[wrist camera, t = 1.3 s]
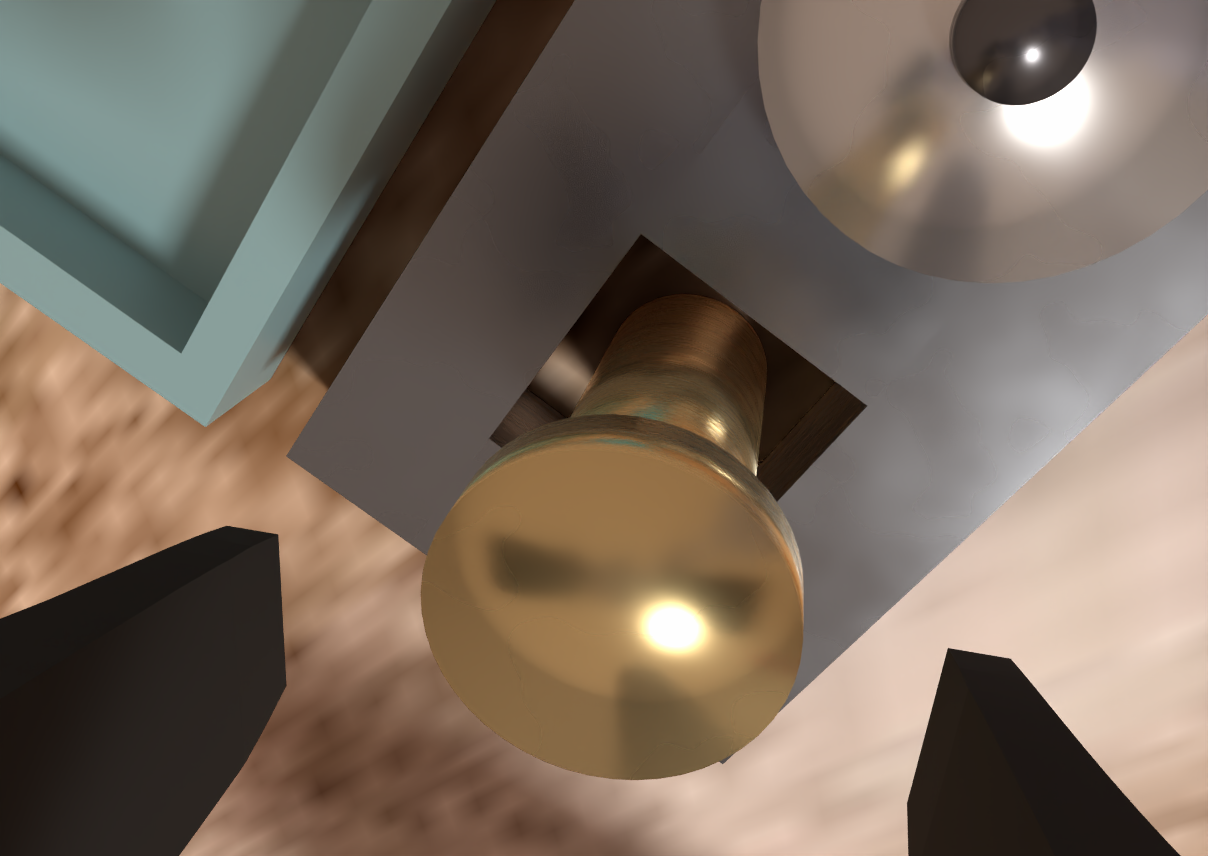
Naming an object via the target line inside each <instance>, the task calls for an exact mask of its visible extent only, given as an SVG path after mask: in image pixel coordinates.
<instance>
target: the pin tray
mask: <svg viewBox="0 0 1208 856" xmlns="http://www.w3.org/2000/svg"><path fill="white" fill-rule="evenodd" d="M495 2H496V0H0V283H1V284H3V285H4V286H5V287H7V288H8V289H10V290H11V291H13V292H14V293H15V294H17V295H18V296H20V297H21V298H23V299H24V300H25V301H27V302H28V303H30V304H31V305H33V306H34V307H35V308H37V309H38V310H40V311H41V312H42V313H44V314H45V315H47V316H48V317H50V318H51V319H52V320H54V321H55V322H57V323H58V324H60V325H61V326H62V327H64V328H65V329H67V330H68V331H70V332H71V333H72V334H74V335H75V336H77V337H78V338H80V339H81V340H82V341H84V342H85V343H87V344H88V345H89V346H91V347H92V348H94V349H95V350H97V351H98V352H99V353H101V354H102V355H104V356H105V357H107V358H108V359H109V360H111V361H112V362H114V363H115V364H117V365H118V366H119V367H121V368H122V369H124V370H125V371H126V372H128V373H129V374H131V375H132V376H134V377H135V378H136V379H138V380H139V381H141V382H142V383H144V384H145V385H146V386H148V387H149V388H151V389H152V390H154V391H155V392H156V393H158V394H159V395H161V396H162V397H164V398H165V399H166V400H168V401H169V402H171V403H172V404H173V405H175V406H176V407H178V408H179V409H181V410H182V411H183V412H185V413H186V414H188V415H189V416H191V417H192V418H193V419H195V420H196V421H198V422H199V423H201V424H202V425H203V426H205V427H206V426H208V425H209V424H210V423H212V422H213V421H214V420H216V419H217V418H218V417H220V416H221V415H223V414H224V413H225V412H227V411H228V410H229V409H231V408H232V407H233V406H235V405H236V404H237V403H239V402H240V401H241V400H243V399H244V398H246V397H247V396H248V395H250V394H251V393H252V392H254V391H255V390H256V389H258V388H259V387H260V386H262V385H263V384H265V383H266V382H267V381H269V380H270V379H271V377H272V375H273V374H274V372H275V370H276V369H277V367H278V365H279V364H280V362H281V360H282V359H283V357H284V355H285V354H286V352H287V350H288V349H289V347H290V345H291V344H292V342H293V340H294V339H295V337H296V335H297V334H298V332H299V330H300V329H301V327H302V325H303V323H304V322H305V320H306V318H307V317H308V315H309V313H310V312H311V310H312V308H313V307H314V305H315V303H316V302H317V300H318V298H319V297H320V295H321V293H322V292H323V290H324V288H325V287H326V285H327V283H328V282H329V280H330V278H331V277H332V275H333V273H334V272H335V270H336V268H337V267H338V265H339V263H340V262H341V260H342V258H343V256H344V255H345V253H346V251H347V250H348V248H349V246H350V245H351V243H352V241H353V240H354V238H355V236H356V235H357V233H358V231H359V230H360V228H361V226H362V225H363V223H364V221H365V220H366V218H367V216H368V215H369V213H370V211H371V210H372V208H373V206H374V205H375V203H376V201H377V200H378V198H379V196H380V195H381V193H382V191H383V190H384V188H385V186H386V184H387V183H388V181H389V179H390V178H391V176H392V174H393V173H394V171H395V169H396V168H397V166H398V164H399V163H400V161H401V159H402V158H403V156H404V154H405V153H406V151H407V149H408V148H409V146H410V144H411V143H412V141H413V139H414V138H415V136H416V134H417V133H418V131H419V129H420V128H421V126H422V124H423V123H424V121H425V119H426V118H427V116H428V114H429V112H430V111H431V109H432V107H433V106H434V104H435V102H436V101H437V99H438V97H439V96H440V94H441V92H442V91H443V89H444V87H445V86H446V84H447V82H448V81H449V79H450V77H451V76H452V74H453V72H454V71H455V69H456V67H457V66H458V64H459V62H460V61H461V59H462V57H463V56H464V54H465V52H466V51H467V49H468V47H469V45H470V44H471V42H472V40H473V39H474V37H475V35H476V34H477V32H478V30H479V29H480V27H481V25H482V24H483V22H484V20H485V19H486V17H487V15H488V14H489V12H490V10H491V9H492V7H493V5H494V4H495Z"/></svg>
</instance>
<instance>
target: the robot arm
mask: <svg viewBox="0 0 1208 856" xmlns="http://www.w3.org/2000/svg"><path fill="white" fill-rule="evenodd" d="M285 687H286V670H285V652H284V633H283V615H282V596H281V578H280V559H279V541H278V534H272V533H266V532H260V531H254V530H248V529H243V528H237V527H231V526H225V527H222V528H219V529H216V530H213V531H210V532H207V533H204V534H202V535H199V536H196V537H194V538H191V539H189V540H186V541H184V542H181V543H179V544H177V545H174V546H172V547H169V548H167V549H165V550H162V551H160V552H158V553H155V554H153V555H151V556H149V557H146V558H144V559H142V560H139V561H137V562H135V563H132V564H130V565H128V566H126V567H123V568H121V569H119V570H116V571H114V572H112V573H109V574H107V575H105V576H102V577H100V578H98V579H96V580H93V581H91V582H89V583H86V584H84V585H82V586H79V587H77V588H75V589H72V590H70V591H68V592H65V593H63V594H61V595H58V596H56V597H54V598H51V599H49V600H47V601H44V602H42V603H39V604H37V605H34V606H32V607H29V608H27V609H24V610H21V611H19V612H16V613H14V614H11V615H9V616H6V617H4V618H1V619H0V856H179V855H180V854H181V852H182V851H183V849H184V848H185V847H186V845H187V844H188V843H189V841H190V840H191V838H192V837H193V836H194V834H195V833H196V832H197V830H198V829H199V828H200V826H201V825H202V823H203V822H204V821H205V819H206V818H207V816H208V815H209V814H210V812H211V811H212V809H213V808H214V807H215V805H216V804H217V802H218V801H219V800H220V798H221V797H222V795H223V794H224V793H225V791H226V790H227V788H228V787H229V786H230V784H231V783H232V781H233V780H234V778H235V777H236V776H237V774H238V773H239V771H240V770H241V768H242V767H243V765H244V764H245V762H246V761H247V759H248V757H249V755H250V753H251V752H252V750H253V748H254V746H255V744H256V743H257V741H258V739H259V737H260V735H261V734H262V732H263V730H264V728H265V726H266V724H267V722H268V720H269V718H270V716H271V715H272V713H273V711H274V709H275V707H276V705H277V703H278V701H279V699H280V697H281V695H282V693H283V691H284V689H285ZM907 816H908V854H909V856H1180V855H1179V854H1178V853H1177V852H1176V851H1175V850H1174V848H1173V847H1172V846H1171V845H1170V844H1169V843H1168V842H1167V841H1166V840H1165V839H1164V838H1163V837H1162V836H1161V835H1160V834H1159V832H1158V831H1157V830H1156V829H1155V828H1154V827H1153V826H1152V825H1151V824H1150V823H1149V822H1148V820H1147V819H1146V818H1145V817H1144V816H1143V815H1142V814H1141V813H1140V812H1139V811H1138V809H1137V808H1136V807H1135V806H1134V805H1133V804H1132V803H1131V802H1130V800H1129V799H1128V798H1127V797H1126V796H1125V795H1124V794H1123V793H1122V791H1121V790H1120V789H1119V788H1118V787H1117V786H1116V784H1115V783H1114V782H1113V781H1112V780H1111V779H1110V777H1109V776H1108V775H1107V774H1106V773H1105V772H1104V771H1103V769H1102V768H1101V767H1100V766H1099V765H1098V763H1097V762H1096V761H1095V760H1094V759H1093V758H1092V756H1091V755H1090V754H1089V753H1088V752H1087V750H1086V749H1085V748H1084V747H1083V746H1082V744H1081V743H1080V742H1079V741H1078V740H1077V738H1076V737H1075V736H1074V735H1073V734H1072V732H1071V731H1070V730H1069V729H1068V727H1067V726H1066V725H1065V724H1064V723H1063V721H1062V720H1061V719H1060V718H1059V717H1058V715H1057V714H1056V713H1055V712H1054V710H1053V709H1052V708H1051V707H1050V706H1049V704H1048V703H1047V702H1046V701H1045V699H1044V698H1043V697H1042V696H1041V694H1040V693H1039V692H1038V691H1037V690H1036V688H1035V687H1034V686H1033V685H1032V683H1031V682H1030V681H1029V680H1028V679H1027V677H1026V676H1025V675H1024V674H1023V673H1022V671H1021V670H1020V669H1019V668H1018V667H1017V666H1016V664H1015V663H1014V662H1013V661H1012V660H1011V659H1009V658H1003V657H997V656H991V655H985V654H979V653H974V652H968V651H962V650H956V649H950V648H948V650H947V654H946V658H945V661H944V665H943V669H942V673H941V677H940V680H939V684H938V688H937V692H936V696H935V699H934V703H933V707H932V711H931V715H930V718H929V722H928V726H927V730H926V734H925V738H924V741H923V745H922V749H921V753H920V757H919V760H918V764H917V768H916V772H915V776H914V779H913V783H912V787H911V791H910V795H909V798H908V802H907Z"/></svg>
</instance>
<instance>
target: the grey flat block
mask: <svg viewBox="0 0 1208 856" xmlns="http://www.w3.org/2000/svg"><path fill="white" fill-rule="evenodd" d="M640 234H642V235H643V236H645V237H646V238H647V239H648V240H650V241H651V242H652V243H654V244H655V245H656V246H658V247H659V248H660V249H662V250H663V251H664V252H666V253H667V254H668V255H670V256H671V257H672V258H673V259H675V260H676V261H677V262H679V263H680V264H681V265H683V266H684V267H685V268H687V269H688V270H689V271H691V272H692V273H693V274H695V275H696V276H697V277H699V278H700V279H701V280H702V281H704V282H705V283H706V284H708V285H709V286H710V287H712V288H713V289H714V290H716V291H717V292H718V293H720V294H721V295H722V296H724V297H725V298H726V299H727V300H729V301H730V302H731V303H733V304H734V305H735V306H737V307H738V308H739V309H741V310H742V311H743V312H745V313H746V314H747V315H749V316H750V317H751V318H752V319H754V320H755V321H756V322H758V323H759V324H760V325H762V326H763V327H764V328H766V329H767V330H768V331H770V332H771V333H772V334H774V335H775V336H776V337H778V338H779V339H780V340H781V341H783V342H784V343H785V344H787V345H788V346H789V347H791V348H792V349H793V350H795V351H796V352H797V353H799V354H800V355H801V356H803V357H804V358H805V359H806V360H808V361H809V362H810V363H812V364H813V365H814V366H816V367H817V368H818V369H820V370H821V371H822V372H824V373H825V374H826V375H828V376H829V377H830V378H832V379H833V380H834V381H835V383H834V384H833V385H832V386H831V388H830V389H829V390H828V391H827V392H826V393H825V394H824V395H823V396H822V397H821V399H820V400H819V401H818V402H817V403H816V404H815V405H814V406H813V407H812V408H811V409H810V411H809V412H808V413H807V414H806V415H805V416H804V417H803V418H802V419H801V420H800V422H799V423H798V424H797V425H796V426H795V427H794V428H793V429H792V430H791V431H790V433H789V434H788V435H787V436H786V437H785V438H784V439H783V440H782V441H781V442H780V443H779V445H778V446H777V447H776V448H775V449H774V450H773V451H772V452H771V453H770V454H769V456H768V457H767V458H766V459H765V460H764V461H763V462H762V463H761V464H760V465H759V467H758V468H757V475H756V477H757V478H758V479H759V480H760V481H761V482H762V483H763V484H764V485H765V487H766V488H767V489H768V490H769V492H770V493H771V494H772V496H773V497H774V499H775V500H776V502H777V503H778V504H779V506H780V507H781V509H782V511H783V513H784V515H785V517H786V519H787V521H788V522H789V524H790V526H791V528H792V531H793V534H794V537H795V540H796V543H797V545H798V548H799V553H800V558H801V563H802V569H803V588H804V606H803V646H802V654H801V662H800V665H799V669H798V672H797V676H796V679H795V683H794V685H793V687H792V689H791V691H790V693H789V695H788V697H787V699H786V702H785V703H784V705H783V706H782V707H781V709H780V710H779V712H780V711H781V710H782V709H783V708H784V707H785V706H786V705H787V704H788V703H789V702H790V701H791V700H793V699H794V698H795V697H796V696H797V695H798V694H799V693H800V692H801V691H802V690H803V689H804V688H805V687H807V686H808V685H809V684H810V683H811V682H812V681H813V680H814V679H815V678H816V677H817V676H818V675H819V674H821V673H822V672H823V671H824V670H825V669H826V668H827V667H828V666H829V665H830V664H831V663H832V662H833V661H835V660H836V659H837V658H838V657H839V656H840V655H841V654H842V653H843V652H844V651H845V650H846V649H847V648H849V647H850V646H851V645H852V644H853V643H854V642H855V641H856V640H857V639H858V638H859V637H860V636H861V635H863V634H864V633H865V632H866V631H867V630H868V629H869V628H870V627H871V626H872V625H873V624H874V623H875V622H877V621H878V620H879V619H880V618H881V617H882V616H883V615H884V614H885V613H886V612H887V611H888V610H890V609H891V608H892V607H893V606H894V605H895V604H896V603H897V602H898V601H899V600H900V599H901V598H902V597H904V596H905V595H906V594H907V593H908V592H909V591H910V590H911V589H912V588H913V587H914V586H915V585H916V584H918V583H919V582H920V581H921V580H922V579H923V578H924V577H925V576H926V575H927V574H928V573H929V572H930V571H932V570H933V569H934V568H935V567H936V566H937V565H938V564H939V563H940V562H941V561H942V560H943V559H944V558H946V557H947V556H948V555H949V554H950V553H951V552H952V551H953V550H954V549H955V548H956V547H957V546H958V545H960V544H961V543H962V542H963V541H964V540H965V539H966V538H967V537H968V536H969V535H970V534H971V533H972V532H974V531H975V530H976V529H977V528H978V527H979V526H980V525H981V524H982V523H983V522H984V521H985V520H987V519H988V518H989V517H990V516H991V515H992V514H993V513H994V512H995V511H996V510H997V509H998V508H999V507H1001V506H1002V505H1003V504H1004V503H1005V502H1006V501H1007V500H1008V499H1009V498H1010V497H1011V496H1012V495H1013V494H1015V493H1016V492H1017V491H1018V490H1019V489H1020V488H1021V487H1022V486H1023V485H1024V484H1025V483H1026V482H1027V481H1029V480H1030V479H1031V478H1032V477H1033V476H1034V475H1035V474H1036V473H1037V472H1038V471H1039V470H1040V469H1041V468H1043V467H1044V466H1045V465H1046V464H1047V463H1048V462H1049V461H1050V460H1051V459H1052V458H1053V457H1054V456H1055V455H1057V454H1058V453H1059V452H1060V451H1061V450H1062V449H1063V448H1064V447H1065V446H1066V445H1067V444H1068V443H1069V442H1071V441H1072V440H1073V439H1074V438H1075V437H1076V436H1077V435H1078V434H1079V433H1080V432H1081V431H1082V430H1084V429H1085V428H1086V427H1087V426H1088V425H1089V424H1090V423H1091V422H1092V421H1093V420H1094V419H1095V418H1096V417H1098V416H1099V415H1100V414H1101V413H1102V412H1103V411H1104V410H1105V409H1106V408H1107V407H1108V406H1109V405H1110V404H1112V403H1113V402H1114V401H1115V400H1116V399H1117V398H1118V397H1119V396H1120V395H1121V394H1122V393H1123V392H1124V391H1126V390H1127V389H1128V388H1129V387H1130V386H1131V385H1132V384H1133V383H1134V382H1135V381H1136V380H1137V379H1138V378H1140V377H1141V376H1142V375H1143V374H1144V373H1145V372H1146V371H1147V370H1148V369H1149V368H1150V367H1151V366H1152V365H1154V364H1155V363H1156V362H1157V361H1158V360H1159V359H1160V358H1161V357H1162V356H1163V355H1164V354H1165V353H1166V352H1168V351H1169V350H1170V349H1171V348H1172V347H1173V346H1174V345H1175V344H1176V343H1177V342H1178V341H1179V340H1181V339H1182V338H1183V337H1184V336H1185V335H1186V334H1187V333H1188V332H1189V331H1190V330H1191V329H1192V328H1193V327H1195V326H1196V325H1197V324H1198V323H1199V322H1200V321H1201V320H1202V319H1203V318H1204V317H1205V316H1206V315H1207V314H1208V0H575V1H574V2H573V4H572V6H571V7H570V9H569V10H568V12H567V13H566V15H565V17H564V18H563V20H562V21H561V23H560V25H559V26H558V28H557V29H556V31H555V32H554V34H553V36H552V37H551V39H550V40H549V42H548V43H547V45H546V47H545V48H544V50H543V51H542V53H541V55H540V56H539V58H538V59H537V61H536V62H535V64H534V66H533V67H532V69H531V70H530V72H529V74H528V75H527V77H526V78H525V80H524V81H523V83H522V85H521V86H520V88H519V89H518V91H517V92H516V94H515V96H514V97H513V99H512V100H511V102H510V104H509V105H508V107H507V108H506V110H505V111H504V113H503V115H502V116H501V118H500V119H499V121H498V122H497V124H496V126H495V127H494V129H493V130H492V132H491V134H490V135H489V137H488V138H487V140H486V141H485V143H484V145H483V146H482V148H481V149H480V151H479V152H478V154H477V156H476V157H475V159H474V160H473V162H472V164H471V165H470V167H469V168H468V170H467V171H466V173H465V175H464V176H463V178H462V179H461V181H460V183H459V184H458V186H457V187H456V189H455V190H454V192H453V194H452V195H451V197H450V198H449V200H448V201H447V203H446V205H445V206H444V208H443V209H442V211H441V213H440V214H439V216H438V217H437V219H436V220H435V222H434V224H433V225H432V227H431V228H430V230H429V231H428V233H427V235H426V236H425V238H424V239H423V241H422V243H421V244H420V246H419V247H418V249H417V250H416V252H415V254H414V255H413V257H412V258H411V260H410V261H409V263H408V265H407V266H406V268H405V269H404V271H403V273H402V274H401V276H400V277H399V279H398V280H397V282H396V284H395V285H394V287H393V288H392V290H391V292H390V293H389V295H388V296H387V298H386V299H385V301H384V303H383V304H382V306H381V307H380V309H379V310H378V312H377V314H376V315H375V317H374V318H373V320H372V322H371V323H370V325H369V326H368V328H367V329H366V331H365V333H364V334H363V336H362V337H361V339H360V340H359V342H358V344H357V345H356V347H355V348H354V350H353V352H352V353H351V355H350V356H349V358H348V359H347V361H346V363H345V364H344V366H343V367H342V369H341V370H340V372H339V374H338V375H337V377H336V378H335V380H334V382H333V383H332V385H331V386H330V388H329V389H328V391H327V393H326V394H325V396H324V397H323V399H322V401H321V402H320V404H319V405H318V407H317V408H316V410H315V412H314V413H313V415H312V416H311V418H310V419H309V421H308V423H307V424H306V426H305V427H304V429H303V431H302V432H301V434H300V435H299V437H298V438H297V440H296V442H295V443H294V445H293V446H292V448H291V449H290V451H289V453H288V454H287V457H288V458H289V459H291V460H292V461H294V462H295V463H297V464H298V465H299V466H301V467H302V468H304V469H305V470H306V471H308V472H309V473H311V474H312V475H314V476H315V477H316V478H318V479H319V480H321V481H322V482H323V483H325V484H326V485H328V486H329V487H331V488H332V489H333V490H335V491H336V492H338V493H339V494H341V495H342V496H343V497H345V498H346V499H348V500H349V501H350V502H352V503H353V504H355V505H356V506H358V507H359V508H360V509H362V510H363V511H365V512H366V513H367V514H369V515H370V516H372V517H373V518H375V519H376V520H377V521H379V522H380V523H382V524H383V525H384V526H386V527H387V528H389V529H390V530H392V531H393V532H394V533H396V534H397V535H399V536H400V537H401V538H403V539H404V540H406V541H407V542H409V543H410V544H411V545H413V546H414V547H416V548H417V549H418V550H420V551H421V552H423V553H424V554H426V555H427V553H428V550H429V548H430V546H431V543H432V541H433V539H434V536H435V534H436V532H437V530H438V529H439V527H440V526H441V524H442V522H443V521H444V519H445V518H446V516H447V515H448V513H449V512H450V510H451V509H452V507H453V506H454V504H455V503H456V501H457V500H458V498H459V497H460V495H461V494H462V492H463V491H464V489H465V488H466V487H467V485H468V484H469V482H470V481H471V479H472V478H473V476H474V475H475V474H476V473H477V471H478V470H479V469H480V468H481V467H482V466H483V465H484V463H485V462H486V461H487V460H488V459H489V458H490V457H492V456H493V455H494V454H495V453H496V452H497V451H499V450H500V449H501V448H502V447H503V446H505V445H506V444H508V443H509V442H511V441H513V440H514V439H516V438H517V437H519V436H521V435H522V434H524V433H527V432H529V431H531V430H533V429H536V428H538V427H540V426H542V425H545V424H548V423H552V422H555V421H559V420H562V419H566V417H564V416H563V415H562V414H560V413H559V412H558V411H556V410H555V409H554V408H552V407H551V406H549V405H548V404H547V403H545V402H544V401H543V400H541V399H540V398H538V397H537V396H536V395H534V394H533V393H532V392H530V391H529V390H528V389H526V388H527V387H528V385H529V384H530V383H531V381H532V380H533V379H534V377H535V376H536V374H537V373H538V372H539V370H540V369H541V368H542V366H543V365H544V364H545V362H546V361H547V360H548V358H549V357H550V356H551V354H552V353H553V352H554V350H555V349H556V348H557V346H558V345H559V344H560V342H561V341H562V339H563V338H564V337H565V335H566V334H567V333H568V331H569V330H570V329H571V327H572V326H573V325H574V323H575V322H576V321H577V319H578V318H579V317H580V315H581V314H582V313H583V311H584V310H585V309H586V307H587V306H588V304H589V303H590V302H591V300H592V299H593V298H594V296H595V295H596V294H597V292H598V291H599V290H600V288H601V287H602V286H603V284H604V283H605V282H606V280H607V279H608V278H609V276H610V275H611V274H612V272H613V271H614V269H615V268H616V267H617V265H618V264H619V263H620V261H621V260H622V259H623V257H624V256H625V255H626V253H627V252H628V251H629V249H630V248H631V247H632V245H633V244H634V243H635V241H636V240H637V239H638V237H639V236H640ZM779 712H778V713H779ZM732 755H733V754H732ZM732 755H730V756H728V757H727V758H725V759H723V760H721V761H719V762H721V763H722V764H724V763H725V762H726V761H727V760H728V759H729V758H730V757H731V756H732Z"/></svg>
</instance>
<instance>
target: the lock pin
mask: <svg viewBox="0 0 1208 856" xmlns="http://www.w3.org/2000/svg"><path fill="white" fill-rule="evenodd" d="M766 382H767V362H766V356H765V352H764V349H763V346H762V343H761V341H760V339H759V337H758V335H757V334H756V332H755V331H754V329H753V328H752V326H751V325H750V324H749V323H748V322H747V320H746V319H745V318H744V317H743V316H741V315H740V314H739V313H738V312H737V311H735V310H734V309H732V308H731V307H729V306H728V305H726V304H724V303H722V302H720V301H718V300H715V299H712V298H709V297H706V296H701V295H696V294H674V295H669V296H664V297H661V298H658V299H655V300H652V301H650V302H648V303H646V304H644V305H643V306H641V307H640V308H638V309H637V310H635V311H634V312H633V313H632V314H631V315H630V316H629V317H628V318H627V319H626V320H625V321H624V322H623V323H622V325H621V326H620V328H619V329H618V331H617V333H616V334H615V336H614V338H613V340H612V342H611V344H610V345H609V347H608V349H607V351H606V353H605V354H604V356H603V358H602V360H601V362H600V364H599V365H598V367H597V369H596V371H595V373H594V375H593V376H592V378H591V380H590V382H589V384H588V386H587V387H586V389H585V391H584V393H583V395H582V396H581V398H580V400H579V402H578V404H577V406H576V407H575V409H574V411H573V413H572V415H571V417H570V418H566V419H562V420H559V421H555V422H552V423H548V424H545V425H542V426H540V427H538V428H536V429H533V430H531V431H529V432H527V433H524V434H522V435H521V436H519V437H517V438H516V439H514V440H513V441H511V442H509V443H508V444H506V445H505V446H503V447H502V448H501V449H500V450H499V451H497V452H496V453H495V454H494V455H493V456H492V457H490V458H489V459H488V460H487V461H486V462H485V463H484V465H483V466H482V467H481V468H480V469H479V470H478V471H477V473H476V474H475V475H474V476H473V478H472V479H471V481H470V482H469V484H468V485H467V487H466V488H465V489H464V491H463V492H462V494H461V495H460V497H459V498H458V500H457V501H456V503H455V504H454V506H453V507H452V509H451V510H450V512H449V513H448V515H447V516H446V518H445V519H444V521H443V522H442V524H441V526H440V527H439V529H438V530H437V532H436V534H435V536H434V539H433V541H432V543H431V546H430V548H429V550H428V553H427V557H426V561H425V565H424V569H423V575H422V585H421V606H422V617H423V622H424V627H425V632H426V636H427V639H428V641H429V644H430V647H431V650H432V653H433V655H434V657H435V659H436V662H437V664H438V666H439V668H440V670H441V672H442V674H443V675H444V677H445V678H446V680H447V681H448V683H449V684H450V686H451V687H452V689H453V690H454V692H455V693H456V694H457V696H458V697H459V698H460V699H461V700H462V702H463V703H464V704H465V705H466V706H467V707H468V709H469V710H470V711H471V712H472V713H473V714H474V715H476V716H477V717H478V718H479V719H480V720H481V721H482V722H483V723H484V724H485V725H486V726H487V727H489V728H490V729H491V730H493V731H494V732H495V733H496V734H498V735H499V736H500V737H502V738H503V739H504V740H506V741H508V742H509V743H511V744H512V745H514V746H516V747H517V748H519V749H521V750H522V751H524V752H526V753H528V754H530V755H532V756H534V757H536V758H538V759H540V760H542V761H545V762H547V763H550V764H553V765H555V766H558V767H561V768H564V769H566V770H570V771H574V772H578V773H582V774H586V775H590V776H596V777H603V778H609V779H624V780H645V779H660V778H666V777H672V776H677V775H682V774H686V773H689V772H693V771H696V770H699V769H703V768H705V767H707V766H710V765H712V764H714V763H717V762H719V761H721V760H723V759H725V758H727V757H728V756H730V755H732V754H734V753H735V752H737V751H739V750H740V749H742V748H743V747H744V746H746V745H747V744H748V743H749V742H751V741H752V740H753V739H754V738H756V737H757V736H758V735H759V734H760V733H761V732H762V731H763V730H764V729H765V728H766V727H767V726H768V725H769V724H770V722H771V721H772V720H773V719H774V718H775V716H776V715H777V713H778V712H779V710H780V709H781V707H782V706H783V705H784V703H785V702H786V699H787V697H788V695H789V693H790V691H791V689H792V687H793V685H794V683H795V679H796V676H797V672H798V669H799V665H800V662H801V654H802V646H803V606H804V588H803V569H802V563H801V558H800V553H799V548H798V545H797V543H796V540H795V537H794V534H793V531H792V528H791V526H790V524H789V522H788V521H787V519H786V517H785V515H784V513H783V511H782V509H781V507H780V506H779V504H778V503H777V502H776V500H775V499H774V497H773V496H772V494H771V493H770V492H769V490H768V489H767V488H766V487H765V485H764V484H763V483H762V482H761V481H760V480H759V479H758V478H757V477H756V475H757V466H758V456H759V447H760V438H761V428H762V419H763V410H764V400H765V391H766Z"/></svg>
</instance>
